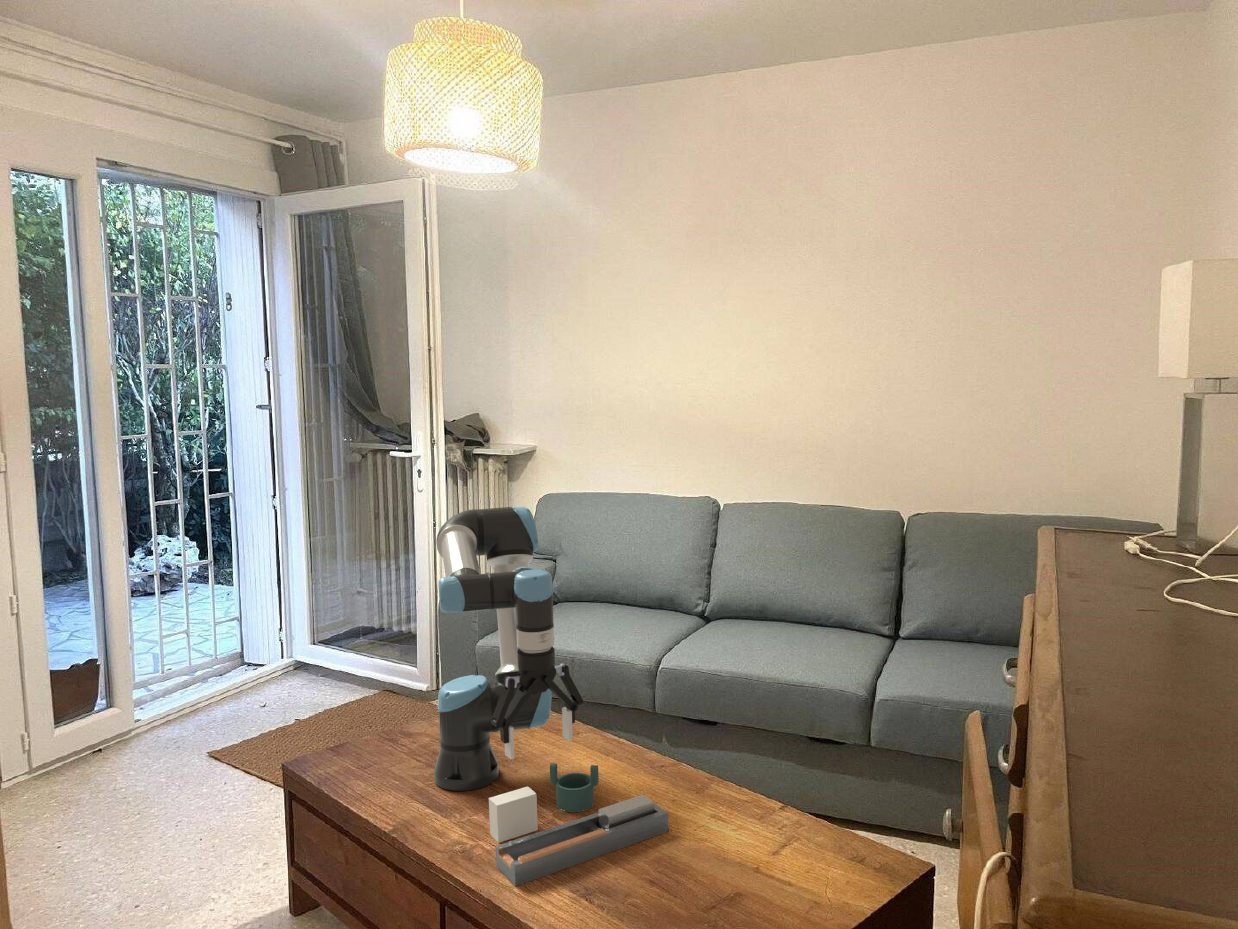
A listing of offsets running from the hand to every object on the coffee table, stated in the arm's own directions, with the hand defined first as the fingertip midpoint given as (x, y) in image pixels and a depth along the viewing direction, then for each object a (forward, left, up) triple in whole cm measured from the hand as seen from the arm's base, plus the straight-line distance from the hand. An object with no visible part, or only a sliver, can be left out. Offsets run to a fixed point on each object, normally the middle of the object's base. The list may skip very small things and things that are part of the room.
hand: (539, 748), depth 184 cm
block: (-5, -4, -19) cm, 20 cm away
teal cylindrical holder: (-9, +13, -19) cm, 24 cm away
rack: (+9, +5, -19) cm, 21 cm away
